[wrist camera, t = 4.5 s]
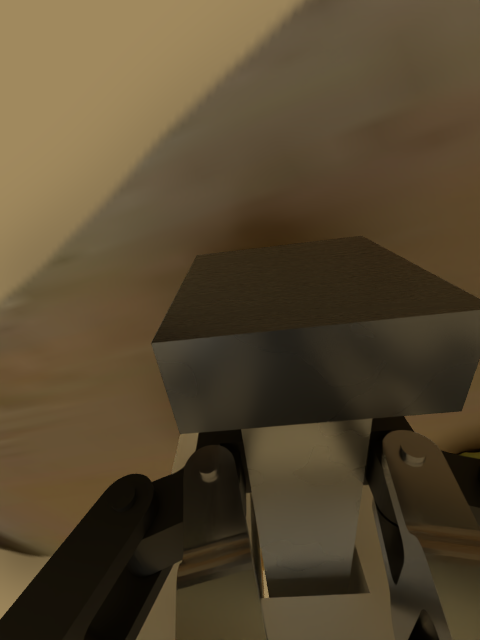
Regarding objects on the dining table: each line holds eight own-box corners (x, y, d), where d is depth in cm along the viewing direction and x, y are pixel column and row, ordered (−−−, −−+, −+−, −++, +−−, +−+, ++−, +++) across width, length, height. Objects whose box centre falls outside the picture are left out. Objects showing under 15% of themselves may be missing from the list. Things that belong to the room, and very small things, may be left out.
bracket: (173, 335, 19) (-33, 837, 5) (371, 315, 18) (847, 839, 4) (208, 467, 25) (168, 843, 11) (355, 456, 25) (511, 844, 10)
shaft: (196, 255, 9) (151, 343, 4) (361, 235, 8) (496, 308, 4) (261, 589, 20) (267, 709, 15) (332, 585, 20) (359, 707, 15)
